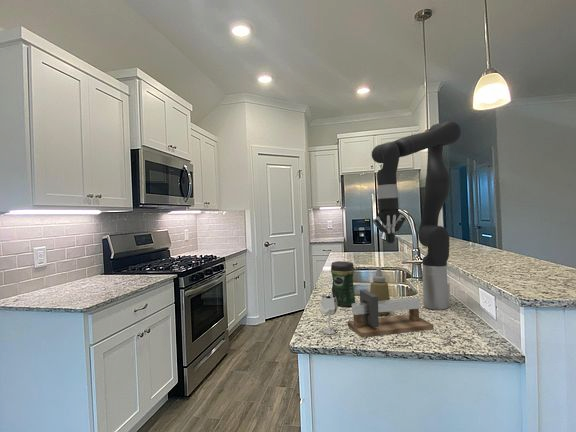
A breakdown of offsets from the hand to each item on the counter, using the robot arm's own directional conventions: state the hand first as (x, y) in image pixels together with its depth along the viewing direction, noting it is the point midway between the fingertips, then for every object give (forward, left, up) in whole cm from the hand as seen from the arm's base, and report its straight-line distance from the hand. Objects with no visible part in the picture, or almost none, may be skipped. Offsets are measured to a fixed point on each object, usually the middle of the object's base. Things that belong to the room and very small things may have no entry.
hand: (390, 243), depth 130 cm
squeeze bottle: (+2, -5, -28) cm, 29 cm away
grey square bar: (+7, +10, -22) cm, 25 cm away
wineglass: (+27, +8, -28) cm, 40 cm away
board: (+6, +10, -28) cm, 30 cm away
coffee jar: (+11, -21, -28) cm, 37 cm away
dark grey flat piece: (+14, +10, -25) cm, 30 cm away
